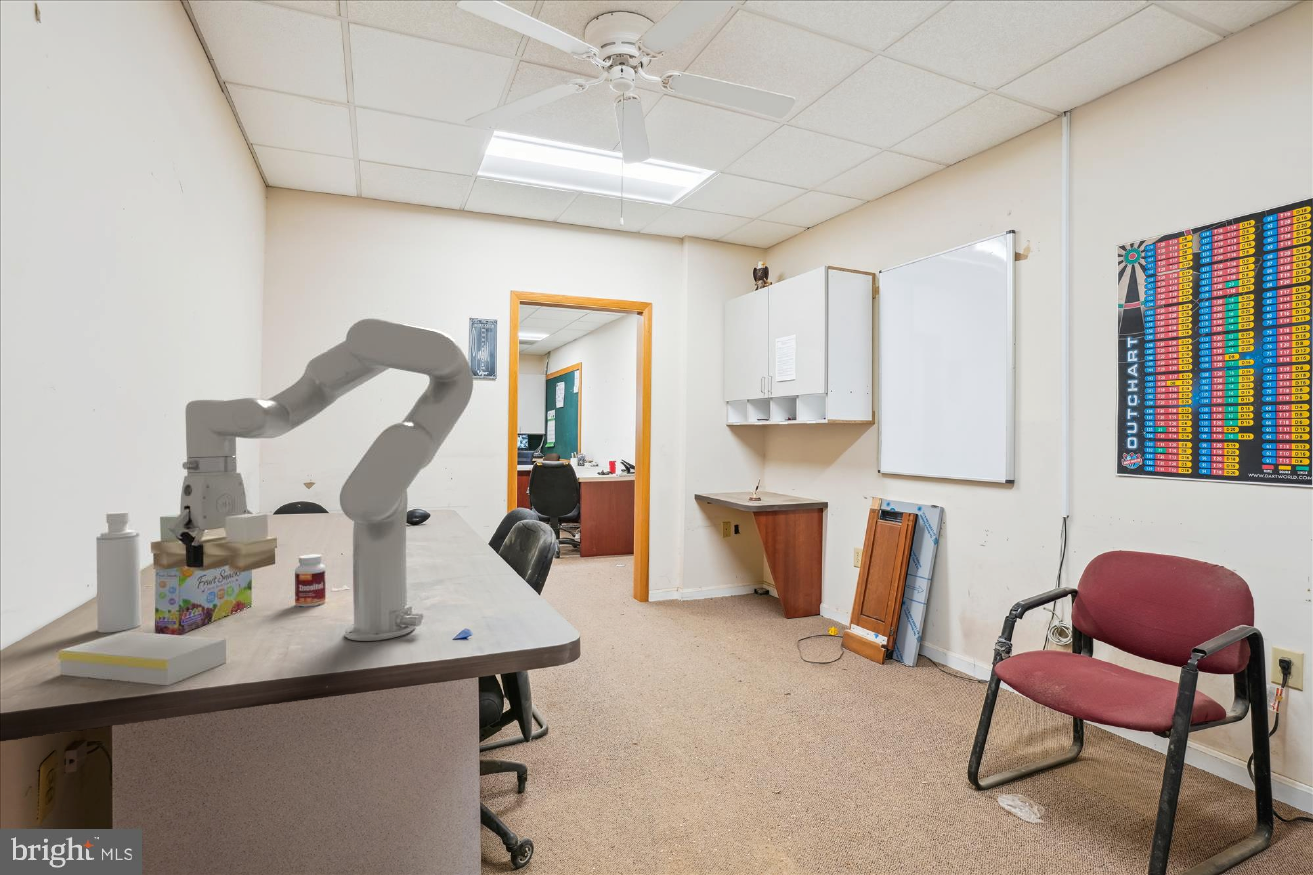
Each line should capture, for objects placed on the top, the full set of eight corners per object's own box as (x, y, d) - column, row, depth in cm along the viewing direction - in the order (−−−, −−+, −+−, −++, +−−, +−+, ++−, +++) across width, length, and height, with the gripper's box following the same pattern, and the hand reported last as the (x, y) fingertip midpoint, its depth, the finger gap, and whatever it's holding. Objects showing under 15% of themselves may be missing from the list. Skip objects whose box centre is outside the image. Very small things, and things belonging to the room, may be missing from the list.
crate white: (267, 538, 116) (267, 514, 116) (246, 542, 112) (246, 517, 112) (247, 538, 117) (247, 514, 117) (226, 542, 113) (225, 517, 113)
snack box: (181, 636, 122) (180, 558, 122) (153, 636, 122) (152, 558, 122) (254, 606, 143) (253, 540, 143) (229, 606, 143) (228, 540, 143)
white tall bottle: (90, 630, 126) (88, 505, 126) (129, 621, 132) (127, 502, 132) (109, 634, 123) (107, 507, 123) (148, 624, 129) (146, 503, 129)
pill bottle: (296, 609, 140) (295, 559, 140) (293, 603, 145) (292, 555, 145) (327, 604, 143) (327, 556, 143) (323, 599, 148) (323, 552, 148)
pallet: (277, 564, 117) (276, 537, 117) (244, 572, 111) (244, 543, 110) (188, 561, 122) (187, 535, 122) (151, 569, 115) (150, 542, 115)
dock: (226, 662, 106) (225, 638, 106) (165, 686, 96) (165, 660, 96) (125, 653, 112) (125, 631, 112) (58, 675, 102) (58, 650, 102)
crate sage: (202, 537, 120) (202, 513, 120) (179, 541, 115) (179, 516, 115) (184, 537, 121) (183, 513, 121) (160, 541, 116) (160, 516, 116)
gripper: (182, 469, 107) (185, 573, 107) (268, 464, 124) (270, 554, 124) (148, 469, 109) (151, 572, 109) (237, 464, 126) (239, 553, 126)
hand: (214, 561), depth 116 cm, fingers closed on pallet, 7 cm apart
